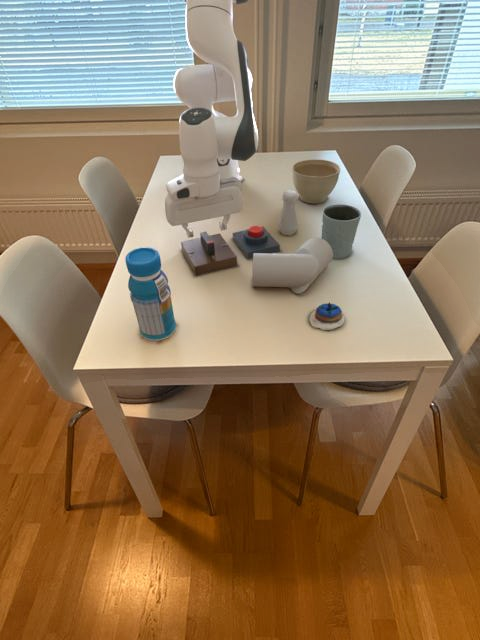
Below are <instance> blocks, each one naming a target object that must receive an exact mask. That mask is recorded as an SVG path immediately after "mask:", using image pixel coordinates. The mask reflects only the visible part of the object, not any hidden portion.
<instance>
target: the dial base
mask: <svg viewBox="0 0 480 640" xmlns="http://www.w3.org/2000/svg"><path fill="white" fill-rule="evenodd" d="M209 237H210V238H211V240H212V241H213V242H214V249H215V254H214V255H210V256H209V255H208V254H207V252H206V250H205V249H204V247H203V246H202V244H201V237H196V238H192V239H188V240H187V239H186V240H183V241H180V246H181V247H180V248H181V251H182V253H183V255H184V257H185V259H186V261H187V263H188V265H189V267H190V268H191V270H192V272H193V274H194V276H196V277H198V276H201V275H205V274H210V273H214V272H218V271H222V270H227V269H230V268H234V267H238V256H237V255H236V254H235V252H234V251H233V250H232V248H231V247H230V245H229V244H228V243H227V241H226V240H225V238H224V237H223V236H222V233H214V234H209Z"/></svg>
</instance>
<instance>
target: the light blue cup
mask: <svg viewBox="0 0 480 640" xmlns="http://www.w3.org/2000/svg"><path fill="white" fill-rule="evenodd" d="M321 217H322V220H321V221H322V225H321V235H320V238H321V239H323V240H325V241H326V242H328V243H329V245H330V246H331V248H332V251H333V258H332V259H335V260H339V259H345V258H347V257H349V256H350V255H351V253H352V250H353V244H354V242H355V238H356V234H357V231H358V227H359V224H360V220H361V217H362V212H361V210H360V209H358V208H357V207H355V206H353V205H349V204H343V203H338V204H337V203H336V204H331V205H328V206H325V207H324V208H323V210H322V216H321Z"/></svg>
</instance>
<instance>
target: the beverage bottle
mask: <svg viewBox="0 0 480 640" xmlns="http://www.w3.org/2000/svg"><path fill="white" fill-rule="evenodd" d="M124 259H125V265H126V269H127V272H128V274H129V275H130V276H129V278H128V284H127V287H128V290H129V297H130V301H131V303H132V306H133V309H134V313H135V317H136V320H137V324H138V328H139V332H140V335H141V336H142V337H143V338H144V339H146V340H148V341H153V342H159V341H163V340H166V339H168V338H169V337H171V336H172V335H173V334H174V333H175V331H176V328H177V323H176V319H175V316H174V315H175V314H174V307H173V304H172V303H173V301H172V297H171V294H172V291H171V288H170V285H169V279H168V276H167V275H166V273H165V272H164V271H163V270H162V260H161V255H160V253H159V251H158V250H157V249H156V248H153V247H148V246H143V247H137V248H135V249H132V250H130V251H129V252H128V253H127V254H126V255H125V258H124Z"/></svg>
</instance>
